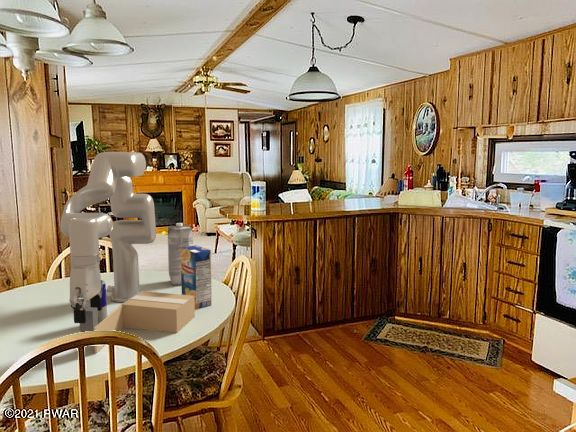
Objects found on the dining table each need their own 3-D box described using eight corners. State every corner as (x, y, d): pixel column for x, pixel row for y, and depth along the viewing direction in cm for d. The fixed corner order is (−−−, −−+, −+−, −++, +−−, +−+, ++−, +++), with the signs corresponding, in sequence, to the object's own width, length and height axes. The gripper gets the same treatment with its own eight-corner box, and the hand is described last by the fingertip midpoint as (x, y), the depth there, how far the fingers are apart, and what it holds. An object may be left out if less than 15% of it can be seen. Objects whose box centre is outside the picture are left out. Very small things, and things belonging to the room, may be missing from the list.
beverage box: (196, 309, 164) (195, 252, 161) (181, 301, 172) (180, 247, 169) (211, 305, 169) (211, 250, 165) (196, 298, 177) (195, 245, 173)
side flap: (109, 326, 147) (107, 290, 145) (123, 326, 147) (121, 290, 145) (81, 352, 128) (78, 310, 126) (96, 352, 128) (94, 311, 126)
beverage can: (106, 326, 147) (104, 284, 145) (88, 328, 146) (86, 285, 143) (108, 320, 152) (106, 279, 150) (91, 322, 151) (88, 280, 149)
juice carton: (194, 284, 195) (193, 224, 191) (170, 286, 191) (168, 225, 187) (191, 278, 203) (190, 221, 199) (168, 280, 200) (166, 222, 195)
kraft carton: (122, 326, 147) (121, 303, 146) (144, 312, 161) (143, 290, 159) (177, 332, 143) (176, 309, 142) (194, 317, 157) (194, 295, 155)
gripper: (87, 252, 134) (90, 305, 137) (55, 267, 117) (59, 327, 120) (111, 253, 134) (113, 306, 136) (83, 268, 117) (86, 328, 119)
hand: (88, 316), depth 128 cm, fingers open, 9 cm apart
